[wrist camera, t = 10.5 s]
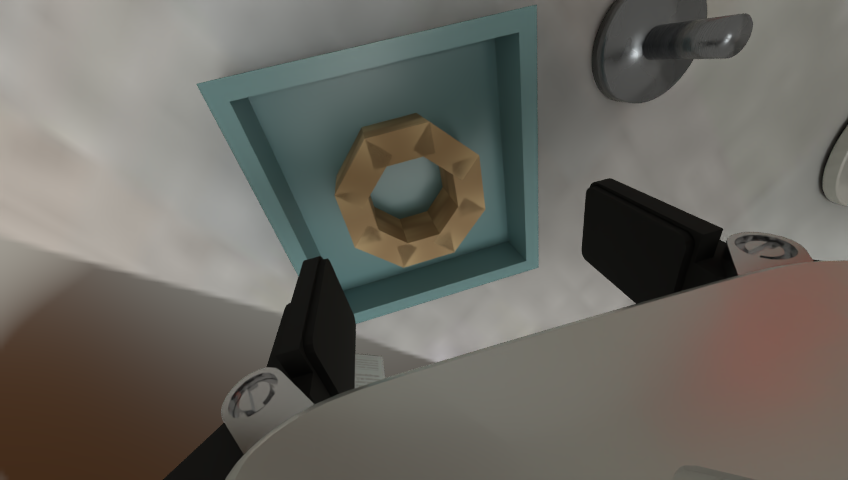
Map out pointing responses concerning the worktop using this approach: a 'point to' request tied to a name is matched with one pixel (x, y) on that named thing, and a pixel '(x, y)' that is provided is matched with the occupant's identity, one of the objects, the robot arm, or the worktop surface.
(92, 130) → the worktop surface
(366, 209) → the ring
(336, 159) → the tray
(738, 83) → the worktop surface
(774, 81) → the worktop surface
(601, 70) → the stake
